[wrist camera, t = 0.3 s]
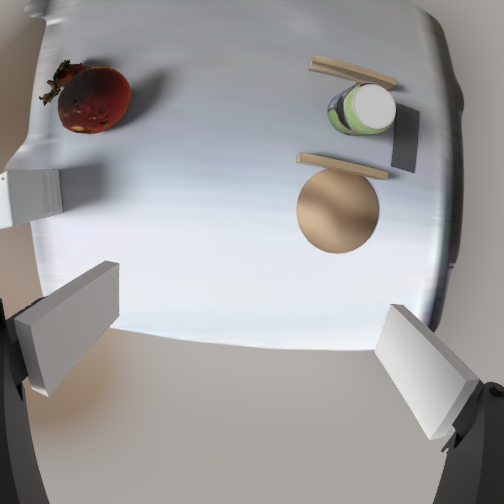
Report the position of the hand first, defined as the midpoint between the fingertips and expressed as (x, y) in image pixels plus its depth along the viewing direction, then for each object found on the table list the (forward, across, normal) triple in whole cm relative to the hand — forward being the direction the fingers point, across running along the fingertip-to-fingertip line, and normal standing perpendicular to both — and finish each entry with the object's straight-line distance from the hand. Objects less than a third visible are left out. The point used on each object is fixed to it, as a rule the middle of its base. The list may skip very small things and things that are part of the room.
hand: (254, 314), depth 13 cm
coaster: (+28, +11, +4) cm, 30 cm away
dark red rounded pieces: (+29, -31, +22) cm, 48 cm away
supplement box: (+28, -35, 0) cm, 44 cm away
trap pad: (+28, +20, +17) cm, 38 cm away
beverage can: (+28, +10, +17) cm, 34 cm away
